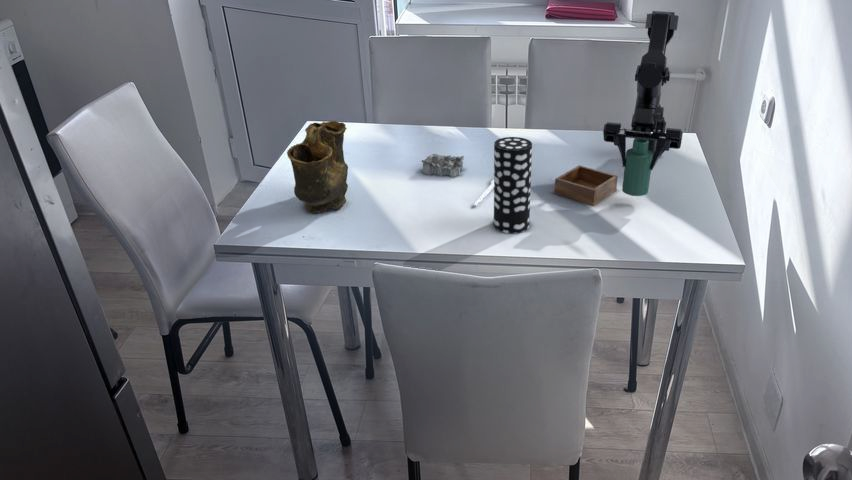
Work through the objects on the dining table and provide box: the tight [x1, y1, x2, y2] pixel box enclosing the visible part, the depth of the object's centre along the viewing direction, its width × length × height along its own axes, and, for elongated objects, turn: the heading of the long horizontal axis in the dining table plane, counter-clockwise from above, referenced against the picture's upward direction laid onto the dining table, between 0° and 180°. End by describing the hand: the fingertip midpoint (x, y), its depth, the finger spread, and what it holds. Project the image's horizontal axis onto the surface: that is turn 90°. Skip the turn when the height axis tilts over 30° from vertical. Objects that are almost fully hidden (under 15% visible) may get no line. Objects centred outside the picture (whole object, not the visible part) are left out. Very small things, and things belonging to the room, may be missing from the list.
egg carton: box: [421, 153, 464, 178], centre depth 190 cm, size 11×8×4 cm
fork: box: [473, 178, 494, 207], centre depth 179 cm, size 3×20×2 cm, turn 160°
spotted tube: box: [493, 136, 533, 234], centre depth 158 cm, size 8×8×20 cm
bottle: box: [621, 138, 653, 197], centre depth 170 cm, size 6×6×13 cm
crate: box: [553, 164, 619, 206], centre depth 179 cm, size 12×12×4 cm
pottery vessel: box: [286, 120, 349, 214], centre depth 167 cm, size 25×11×20 cm, turn 178°
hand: (637, 167), depth 168 cm, fingers closed on bottle, 6 cm apart
